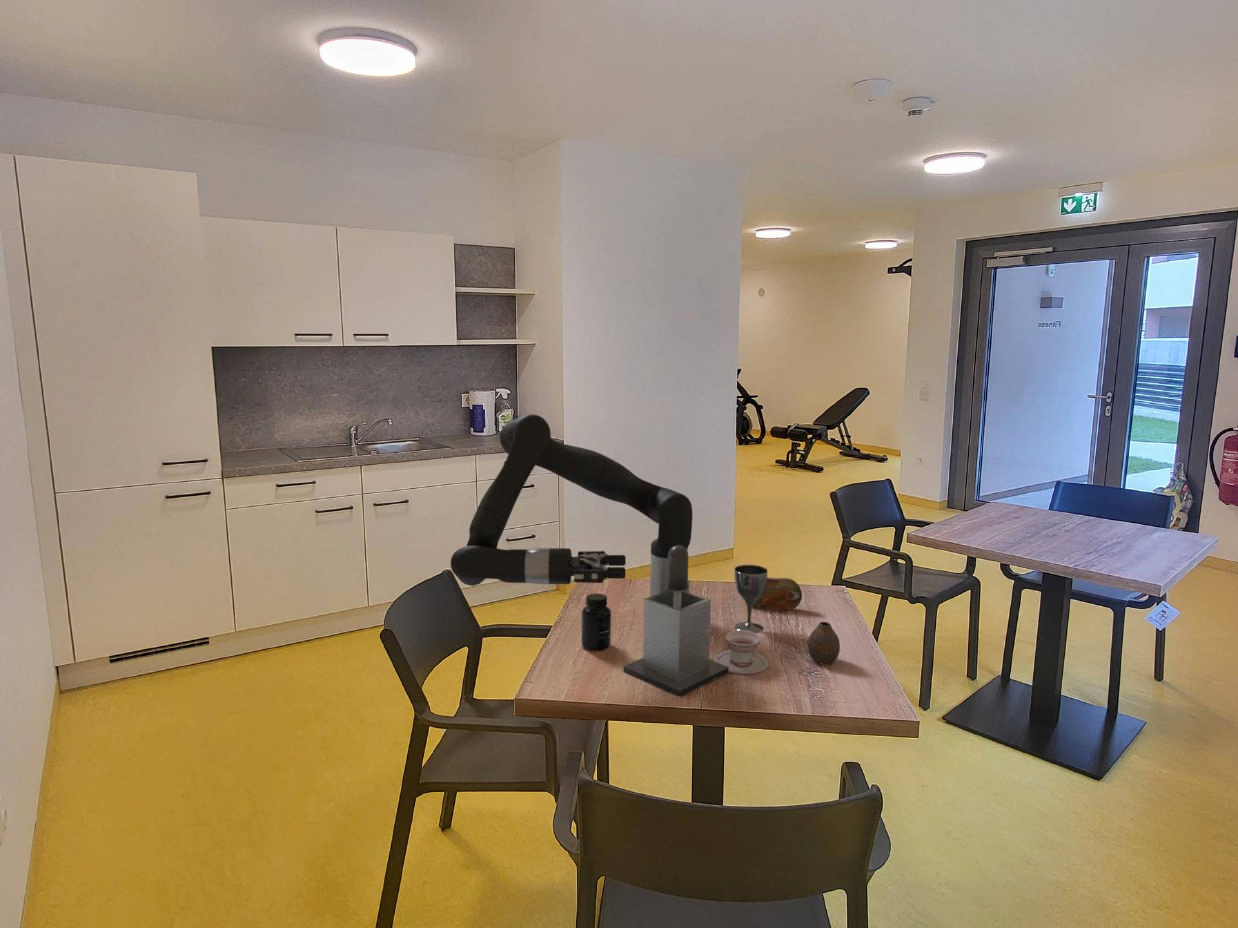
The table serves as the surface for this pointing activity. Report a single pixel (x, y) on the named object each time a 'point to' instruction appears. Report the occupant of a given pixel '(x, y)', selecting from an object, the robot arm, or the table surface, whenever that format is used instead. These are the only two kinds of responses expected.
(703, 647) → the square planter box
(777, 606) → the tin
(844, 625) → the table surface
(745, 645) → the teacup
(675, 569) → the screwdriver
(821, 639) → the vase
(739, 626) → the wine glass
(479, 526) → the robot arm
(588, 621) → the supplement bottle
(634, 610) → the table surface
